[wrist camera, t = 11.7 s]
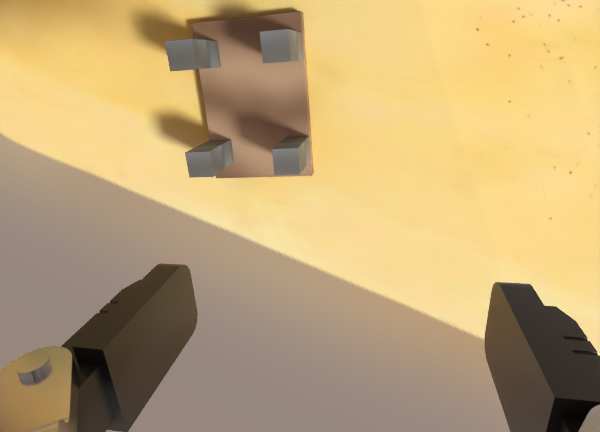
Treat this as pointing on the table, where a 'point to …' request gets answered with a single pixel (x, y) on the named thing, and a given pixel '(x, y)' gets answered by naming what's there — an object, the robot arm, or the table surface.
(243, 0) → the table surface
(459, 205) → the table surface
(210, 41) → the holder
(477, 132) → the table surface
